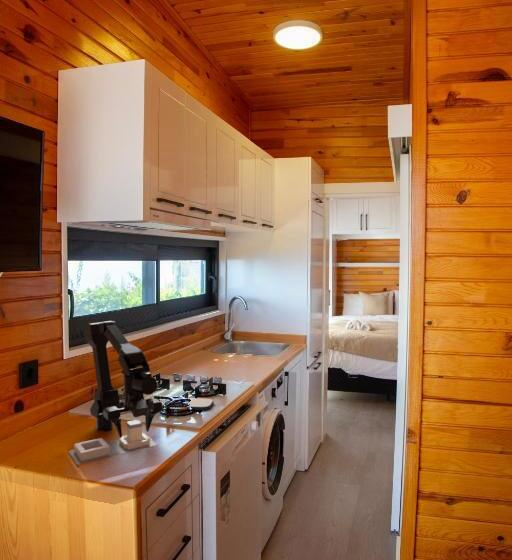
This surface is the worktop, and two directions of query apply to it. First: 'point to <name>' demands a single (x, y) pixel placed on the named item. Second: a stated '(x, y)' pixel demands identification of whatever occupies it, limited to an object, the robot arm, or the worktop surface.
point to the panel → (112, 451)
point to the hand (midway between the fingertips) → (134, 434)
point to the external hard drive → (200, 403)
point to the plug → (134, 431)
